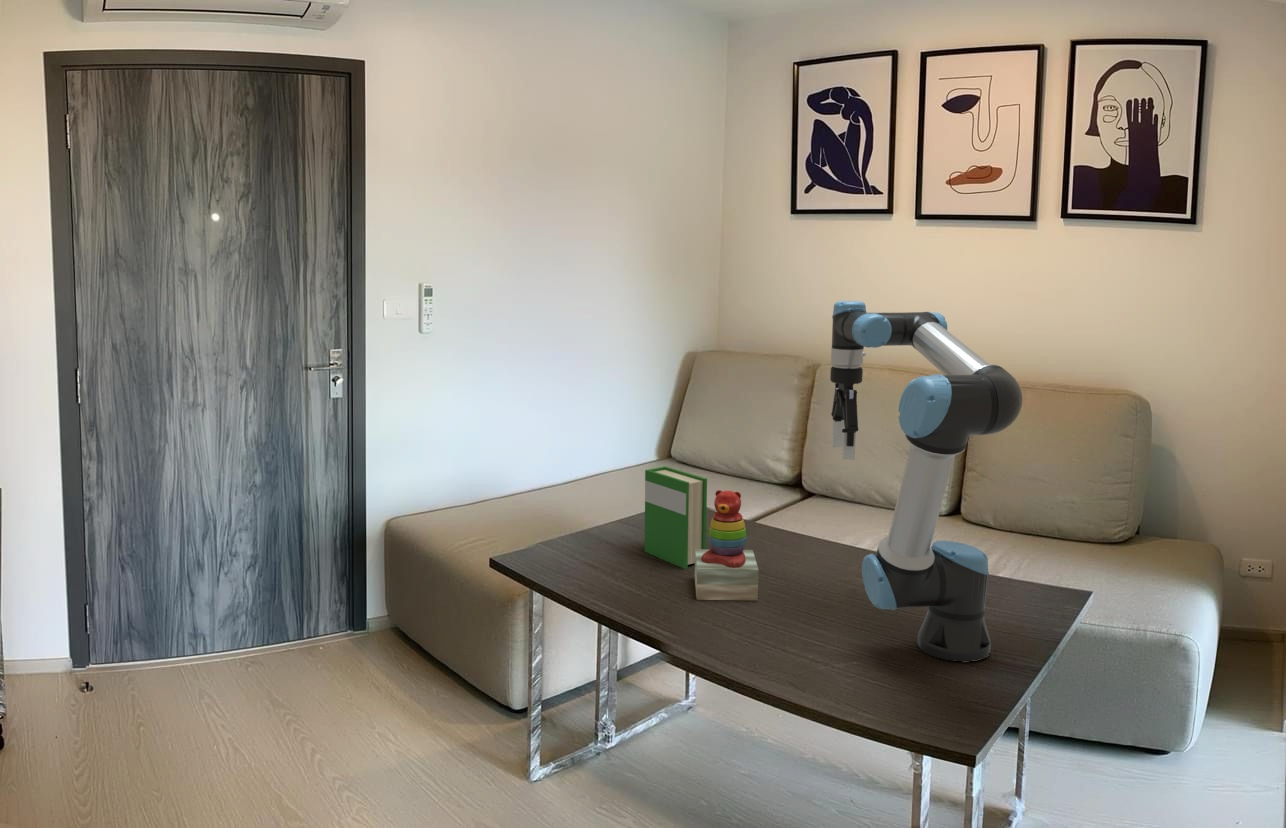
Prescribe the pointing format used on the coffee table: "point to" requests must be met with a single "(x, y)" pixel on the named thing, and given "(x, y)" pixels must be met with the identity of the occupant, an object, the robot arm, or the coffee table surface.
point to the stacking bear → (727, 531)
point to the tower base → (726, 592)
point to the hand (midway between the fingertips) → (842, 453)
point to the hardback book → (675, 515)
